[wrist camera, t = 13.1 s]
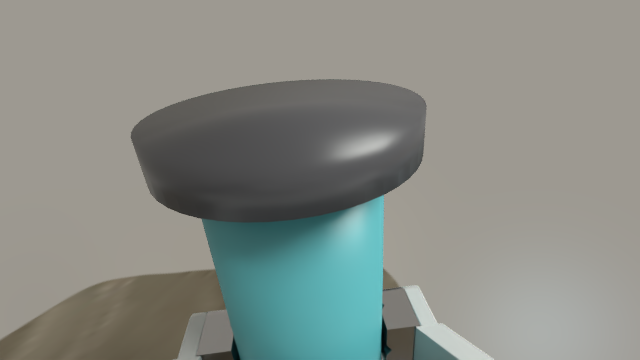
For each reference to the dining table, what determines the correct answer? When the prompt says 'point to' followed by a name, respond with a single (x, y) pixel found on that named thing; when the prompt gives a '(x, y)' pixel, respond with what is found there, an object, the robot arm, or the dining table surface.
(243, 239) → the teal and grey rod
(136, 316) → the dining table surface
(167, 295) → the dining table surface
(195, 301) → the dining table surface
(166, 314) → the dining table surface
